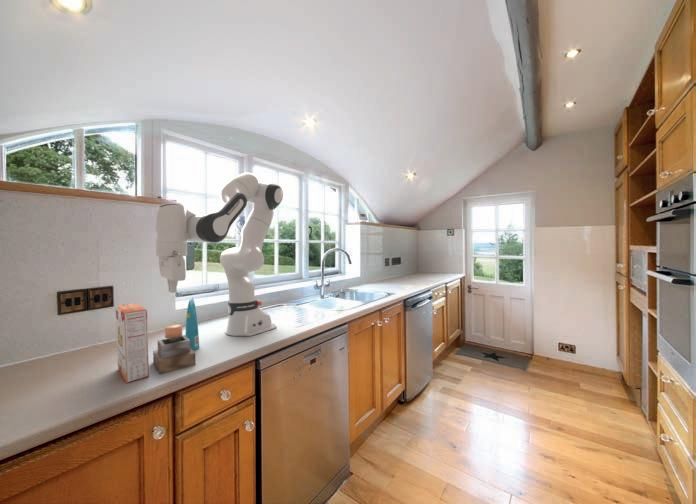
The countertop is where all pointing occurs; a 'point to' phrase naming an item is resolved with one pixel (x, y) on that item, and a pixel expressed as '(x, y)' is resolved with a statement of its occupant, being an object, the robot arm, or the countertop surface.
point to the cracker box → (132, 341)
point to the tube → (192, 326)
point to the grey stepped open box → (173, 355)
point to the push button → (173, 332)
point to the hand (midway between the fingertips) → (172, 292)
